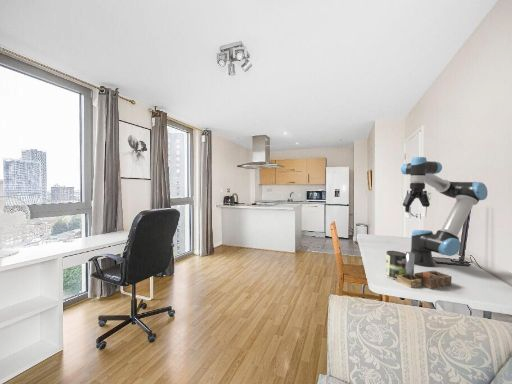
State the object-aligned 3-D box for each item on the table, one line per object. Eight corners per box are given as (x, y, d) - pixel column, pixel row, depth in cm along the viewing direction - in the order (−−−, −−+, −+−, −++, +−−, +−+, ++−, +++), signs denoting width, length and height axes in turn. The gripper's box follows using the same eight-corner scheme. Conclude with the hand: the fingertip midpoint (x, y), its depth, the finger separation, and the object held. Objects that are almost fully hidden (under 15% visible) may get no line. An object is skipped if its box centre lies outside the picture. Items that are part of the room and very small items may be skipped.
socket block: (433, 278, 132) (433, 270, 132) (451, 285, 124) (451, 276, 123) (413, 282, 127) (414, 273, 127) (430, 289, 118) (431, 279, 118)
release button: (425, 280, 125) (425, 271, 125) (430, 283, 123) (431, 274, 122) (421, 281, 124) (421, 272, 124) (427, 283, 122) (427, 274, 121)
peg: (415, 282, 124) (416, 253, 123) (409, 283, 122) (411, 254, 122) (408, 279, 127) (409, 251, 127) (402, 280, 126) (404, 252, 126)
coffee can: (410, 279, 130) (411, 255, 130) (396, 281, 128) (397, 256, 127) (395, 272, 140) (396, 250, 140) (381, 274, 138) (382, 251, 137)
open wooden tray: (407, 279, 130) (407, 273, 130) (421, 285, 122) (421, 279, 122) (396, 281, 127) (397, 275, 127) (410, 287, 120) (411, 281, 120)
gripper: (425, 183, 146) (423, 215, 147) (396, 182, 138) (395, 216, 139) (438, 183, 139) (436, 217, 140) (408, 182, 131) (406, 218, 132)
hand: (415, 217), depth 139 cm, fingers open, 13 cm apart
